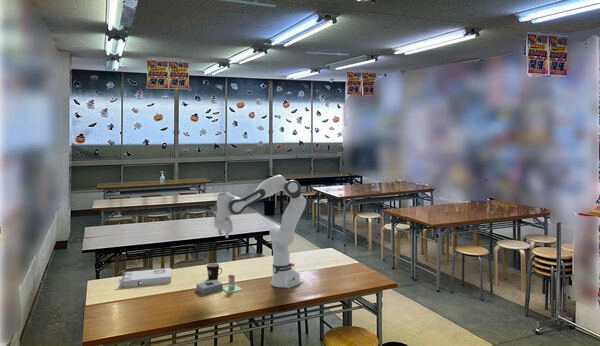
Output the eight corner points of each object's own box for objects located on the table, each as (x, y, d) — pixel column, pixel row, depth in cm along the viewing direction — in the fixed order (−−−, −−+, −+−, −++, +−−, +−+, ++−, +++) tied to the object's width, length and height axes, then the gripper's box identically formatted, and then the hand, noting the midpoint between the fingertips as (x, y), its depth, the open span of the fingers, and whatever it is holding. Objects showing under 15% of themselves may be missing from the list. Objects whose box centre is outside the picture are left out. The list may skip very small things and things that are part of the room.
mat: (235, 285, 278) (235, 284, 278) (242, 290, 270) (242, 289, 270) (221, 288, 272) (221, 288, 272) (228, 293, 264) (228, 292, 264)
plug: (233, 287, 274) (232, 273, 273) (236, 288, 270) (235, 275, 269) (227, 288, 271) (227, 275, 270) (230, 290, 268) (230, 277, 267)
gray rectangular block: (216, 285, 278) (216, 279, 278) (222, 289, 270) (222, 283, 270) (196, 289, 270) (196, 284, 270) (202, 294, 262) (202, 288, 262)
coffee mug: (204, 278, 292) (204, 264, 291) (216, 275, 297) (215, 262, 297) (211, 282, 283) (211, 268, 282) (223, 280, 288) (223, 266, 287)
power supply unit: (123, 279, 292) (122, 272, 292) (171, 274, 302) (171, 268, 301) (119, 288, 274) (119, 281, 274) (171, 283, 284) (171, 276, 283)
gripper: (235, 218, 272) (235, 238, 273) (220, 213, 288) (221, 233, 289) (226, 219, 268) (226, 240, 269) (212, 214, 284) (212, 234, 286)
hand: (223, 236), depth 280 cm, fingers open, 8 cm apart
